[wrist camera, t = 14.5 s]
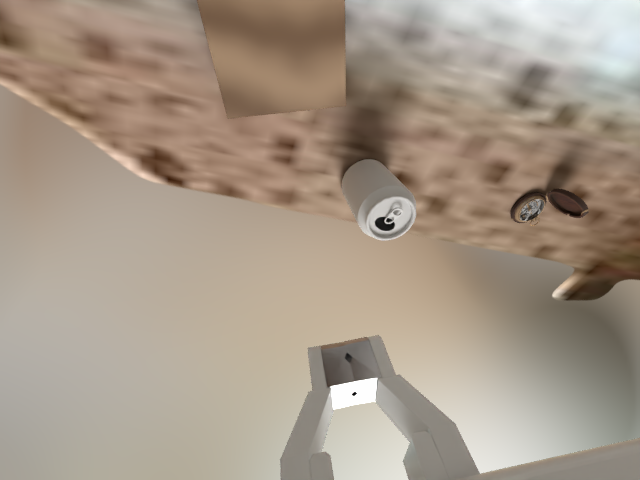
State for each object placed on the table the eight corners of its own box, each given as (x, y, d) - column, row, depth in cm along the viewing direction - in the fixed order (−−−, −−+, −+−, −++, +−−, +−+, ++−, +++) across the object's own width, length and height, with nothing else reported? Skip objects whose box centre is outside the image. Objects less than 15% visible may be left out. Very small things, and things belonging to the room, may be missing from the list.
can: (331, 191, 41) (349, 233, 31) (358, 148, 38) (387, 180, 28) (368, 209, 44) (395, 253, 34) (396, 170, 40) (435, 207, 31)
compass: (504, 207, 48) (536, 229, 42) (547, 178, 46) (587, 196, 40) (516, 232, 52) (547, 254, 46) (556, 206, 50) (594, 226, 44)
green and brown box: (195, -60, 24) (172, -95, 18) (327, -67, 25) (343, -103, 19) (235, 107, 32) (227, 118, 27) (333, 97, 33) (345, 106, 28)
